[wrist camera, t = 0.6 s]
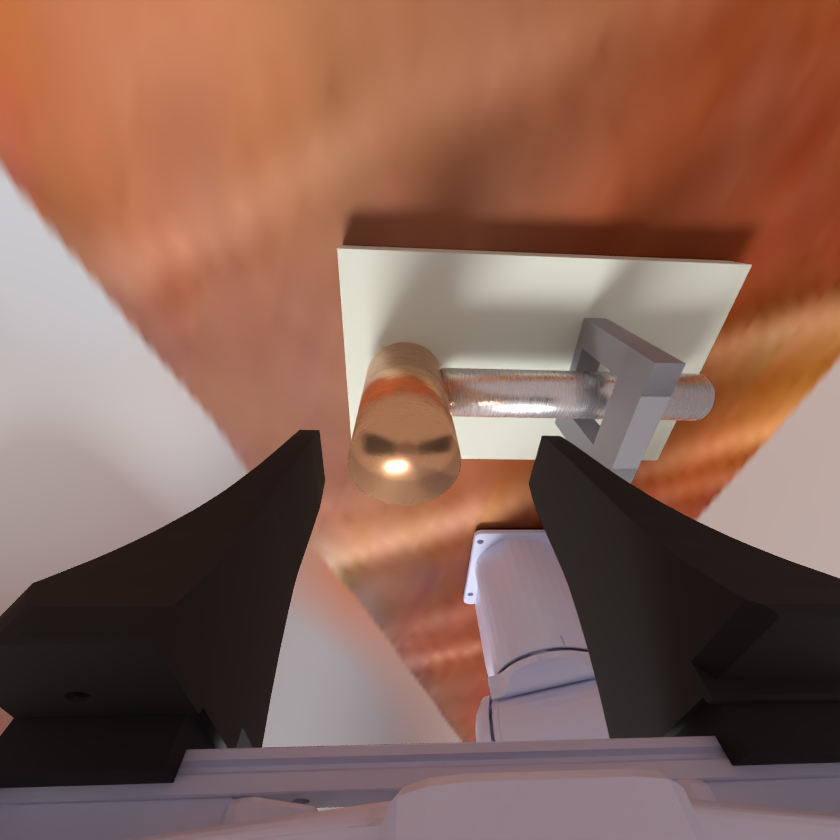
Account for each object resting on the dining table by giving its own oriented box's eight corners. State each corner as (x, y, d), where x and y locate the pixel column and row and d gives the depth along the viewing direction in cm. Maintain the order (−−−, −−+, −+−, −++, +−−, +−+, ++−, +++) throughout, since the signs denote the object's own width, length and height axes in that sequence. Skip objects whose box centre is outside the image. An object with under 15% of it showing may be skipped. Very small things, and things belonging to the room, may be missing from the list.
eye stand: (644, 447, 25) (728, 533, 18) (355, 444, 24) (336, 534, 17) (728, 260, 19) (901, 291, 12) (342, 245, 18) (305, 269, 11)
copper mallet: (660, 415, 20) (770, 506, 14) (368, 411, 20) (351, 505, 13) (691, 349, 18) (834, 422, 12) (365, 340, 18) (343, 414, 11)
